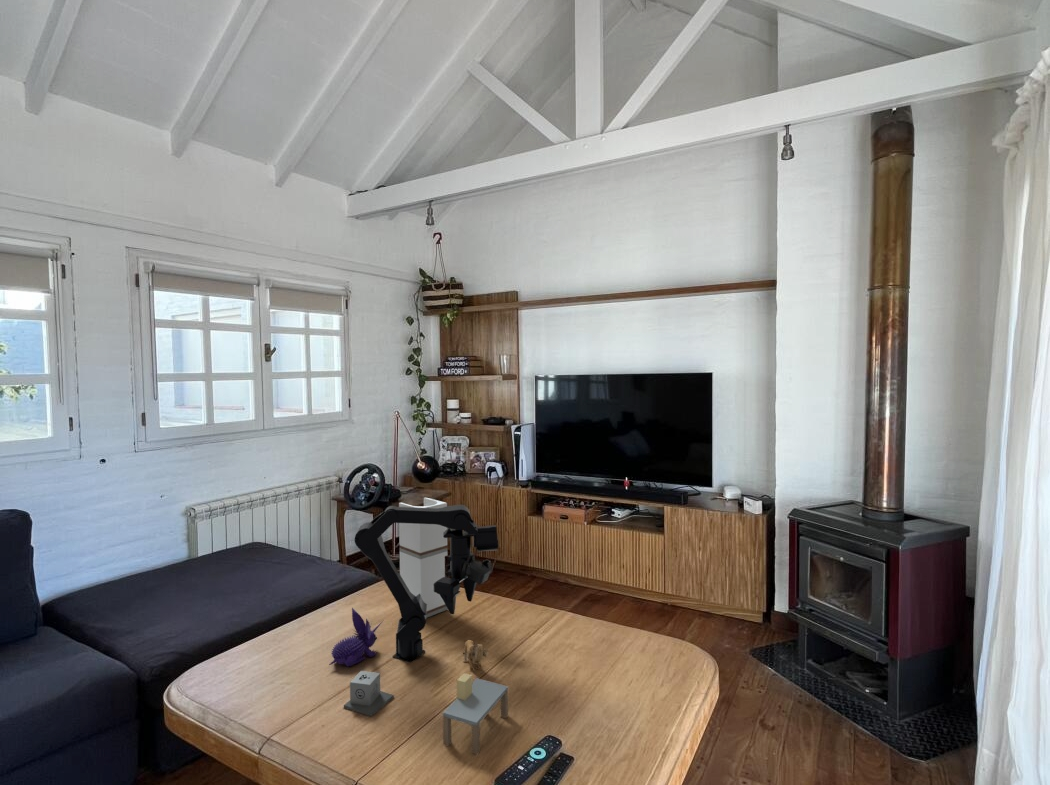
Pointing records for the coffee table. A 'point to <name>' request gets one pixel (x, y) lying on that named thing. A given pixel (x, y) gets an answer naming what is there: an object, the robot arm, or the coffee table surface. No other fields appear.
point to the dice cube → (365, 688)
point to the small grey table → (474, 706)
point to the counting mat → (374, 707)
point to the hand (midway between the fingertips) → (461, 607)
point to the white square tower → (423, 557)
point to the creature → (355, 643)
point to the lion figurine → (474, 653)
